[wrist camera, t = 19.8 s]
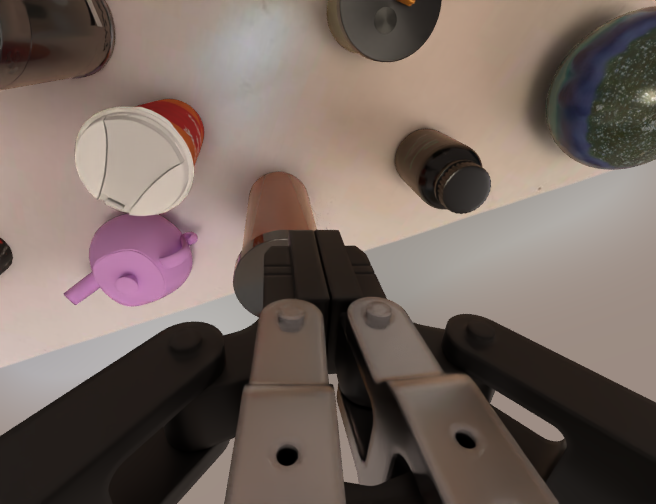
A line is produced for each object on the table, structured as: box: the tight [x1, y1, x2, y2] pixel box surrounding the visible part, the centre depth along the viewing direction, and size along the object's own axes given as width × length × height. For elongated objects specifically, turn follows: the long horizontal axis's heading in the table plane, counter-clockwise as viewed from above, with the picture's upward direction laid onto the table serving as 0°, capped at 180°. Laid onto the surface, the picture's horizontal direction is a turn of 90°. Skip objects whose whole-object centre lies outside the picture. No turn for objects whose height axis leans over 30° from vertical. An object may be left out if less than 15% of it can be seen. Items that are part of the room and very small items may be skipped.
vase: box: [546, 6, 656, 170], centre depth 38 cm, size 15×15×13 cm
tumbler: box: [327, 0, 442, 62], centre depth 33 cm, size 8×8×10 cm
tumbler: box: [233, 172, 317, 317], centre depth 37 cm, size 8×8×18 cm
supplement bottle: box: [395, 129, 491, 214], centre depth 40 cm, size 7×7×12 cm
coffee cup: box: [75, 99, 204, 216], centre depth 33 cm, size 8×8×15 cm
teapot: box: [64, 213, 197, 306], centre depth 42 cm, size 10×15×9 cm
